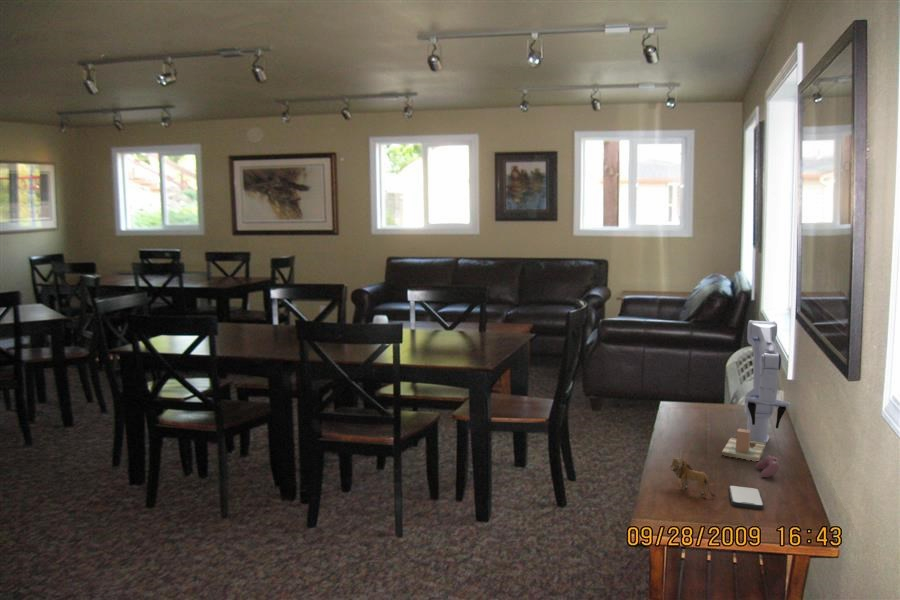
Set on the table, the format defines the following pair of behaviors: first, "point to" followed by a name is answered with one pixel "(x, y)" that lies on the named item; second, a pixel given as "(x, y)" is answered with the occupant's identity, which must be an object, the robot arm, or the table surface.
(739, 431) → the terracotta block
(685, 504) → the table surface
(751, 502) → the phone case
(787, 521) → the table surface
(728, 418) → the table surface
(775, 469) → the video game controller
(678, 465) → the lion figurine
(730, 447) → the board
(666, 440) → the table surface
